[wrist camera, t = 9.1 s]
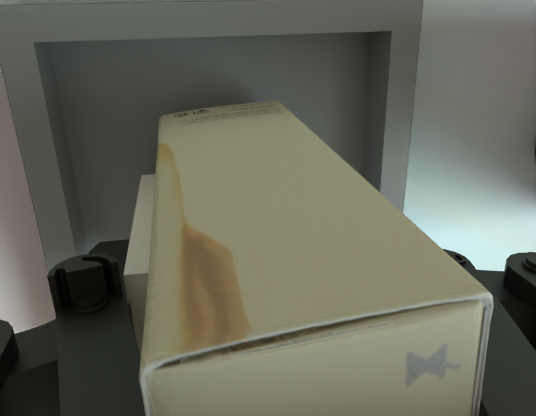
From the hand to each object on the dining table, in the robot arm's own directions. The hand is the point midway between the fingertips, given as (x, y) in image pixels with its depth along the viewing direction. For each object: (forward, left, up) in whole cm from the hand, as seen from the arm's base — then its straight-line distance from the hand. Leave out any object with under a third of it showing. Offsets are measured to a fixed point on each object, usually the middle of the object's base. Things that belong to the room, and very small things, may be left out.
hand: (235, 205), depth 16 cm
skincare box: (0, 0, -1) cm, 1 cm away
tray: (0, 0, -3) cm, 3 cm away
